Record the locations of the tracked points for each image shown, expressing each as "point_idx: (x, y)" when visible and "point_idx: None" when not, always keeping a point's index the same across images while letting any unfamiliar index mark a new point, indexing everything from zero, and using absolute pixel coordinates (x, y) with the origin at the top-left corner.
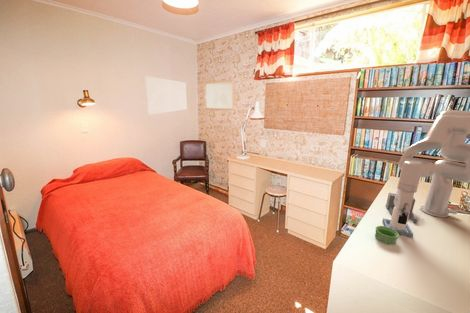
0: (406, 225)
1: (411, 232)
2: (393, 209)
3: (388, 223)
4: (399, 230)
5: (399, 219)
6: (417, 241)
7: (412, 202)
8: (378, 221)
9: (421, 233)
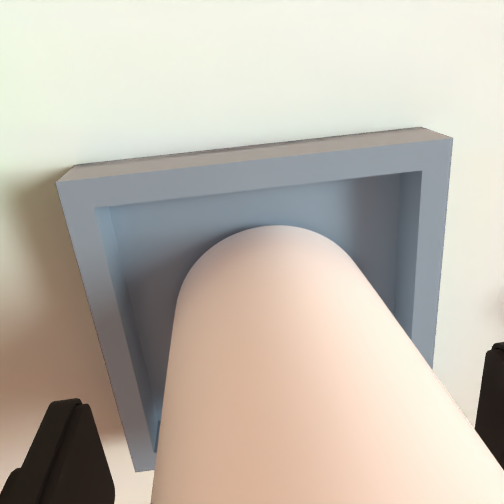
0: None
1: None
2: (372, 472)
3: (369, 211)
4: (115, 345)
5: (23, 483)
6: None
7: None
8: (396, 64)
9: None
